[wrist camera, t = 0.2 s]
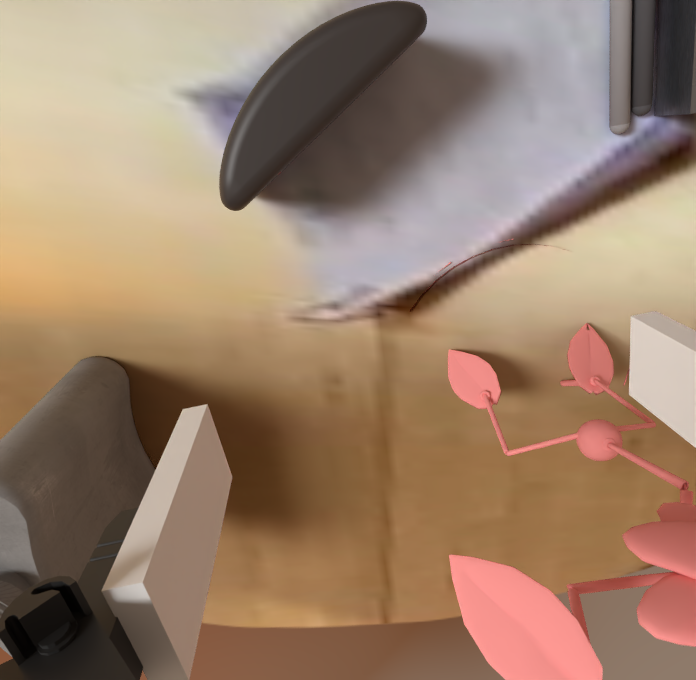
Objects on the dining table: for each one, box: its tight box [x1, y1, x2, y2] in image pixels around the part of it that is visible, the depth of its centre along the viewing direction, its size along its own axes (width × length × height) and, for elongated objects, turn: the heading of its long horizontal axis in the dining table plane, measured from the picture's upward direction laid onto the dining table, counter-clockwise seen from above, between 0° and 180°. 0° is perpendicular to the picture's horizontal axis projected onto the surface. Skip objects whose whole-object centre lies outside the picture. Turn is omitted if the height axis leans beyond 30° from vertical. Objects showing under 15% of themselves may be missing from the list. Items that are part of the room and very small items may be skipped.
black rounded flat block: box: [219, 1, 427, 211], centre depth 33 cm, size 16×5×9 cm, turn 132°
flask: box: [0, 357, 155, 655], centre depth 37 cm, size 15×6×20 cm, turn 6°
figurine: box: [410, 239, 696, 680], centre depth 29 cm, size 15×26×35 cm, turn 96°
